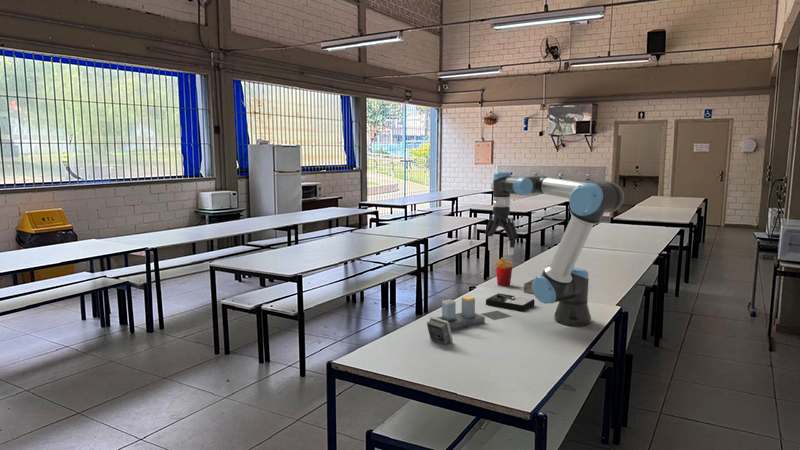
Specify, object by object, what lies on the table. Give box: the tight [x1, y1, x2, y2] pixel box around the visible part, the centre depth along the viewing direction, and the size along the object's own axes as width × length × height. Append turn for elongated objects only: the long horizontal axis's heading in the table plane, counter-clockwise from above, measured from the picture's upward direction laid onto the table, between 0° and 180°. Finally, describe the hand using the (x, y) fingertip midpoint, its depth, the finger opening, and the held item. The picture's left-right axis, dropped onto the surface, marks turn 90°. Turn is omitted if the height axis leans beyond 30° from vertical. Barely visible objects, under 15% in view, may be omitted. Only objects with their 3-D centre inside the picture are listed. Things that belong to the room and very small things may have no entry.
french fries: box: [494, 257, 514, 287], centre depth 291 cm, size 9×8×15 cm
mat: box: [480, 310, 512, 321], centre depth 238 cm, size 10×10×1 cm
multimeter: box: [485, 293, 535, 312], centre depth 253 cm, size 13×19×5 cm
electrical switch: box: [426, 316, 454, 345], centre depth 206 cm, size 9×5×9 cm, turn 44°
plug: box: [461, 295, 476, 318], centre depth 228 cm, size 4×4×10 cm
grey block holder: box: [435, 299, 486, 332], centre depth 226 cm, size 10×20×11 cm, turn 119°
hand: (500, 252), depth 245 cm, fingers open, 13 cm apart
